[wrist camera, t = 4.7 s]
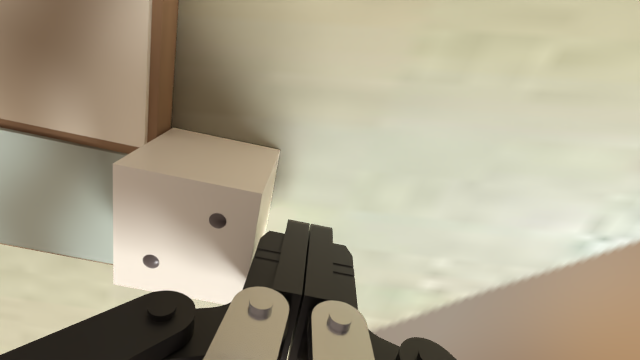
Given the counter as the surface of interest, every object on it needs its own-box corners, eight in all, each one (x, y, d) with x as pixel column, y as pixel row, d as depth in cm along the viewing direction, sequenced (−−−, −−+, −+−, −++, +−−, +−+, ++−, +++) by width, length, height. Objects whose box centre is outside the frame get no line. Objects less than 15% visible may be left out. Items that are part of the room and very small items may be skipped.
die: (280, 149, 13) (261, 195, 10) (264, 240, 15) (242, 310, 11) (170, 126, 13) (106, 164, 9) (165, 220, 15) (108, 286, 11)
